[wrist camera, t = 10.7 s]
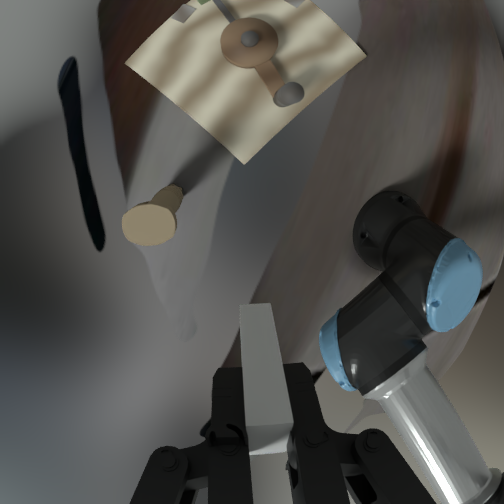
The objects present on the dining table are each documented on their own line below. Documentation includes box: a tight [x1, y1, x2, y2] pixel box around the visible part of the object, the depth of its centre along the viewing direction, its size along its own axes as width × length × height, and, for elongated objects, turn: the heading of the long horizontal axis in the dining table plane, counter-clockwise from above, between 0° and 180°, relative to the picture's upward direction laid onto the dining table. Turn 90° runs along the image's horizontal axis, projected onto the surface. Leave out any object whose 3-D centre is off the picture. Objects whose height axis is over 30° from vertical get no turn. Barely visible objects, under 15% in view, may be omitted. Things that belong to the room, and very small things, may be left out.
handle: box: [122, 184, 183, 246], centre depth 36 cm, size 5×6×15 cm
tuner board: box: [125, 0, 367, 164], centre depth 32 cm, size 26×28×1 cm
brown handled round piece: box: [212, 0, 305, 107], centre depth 28 cm, size 25×8×8 cm, turn 29°
